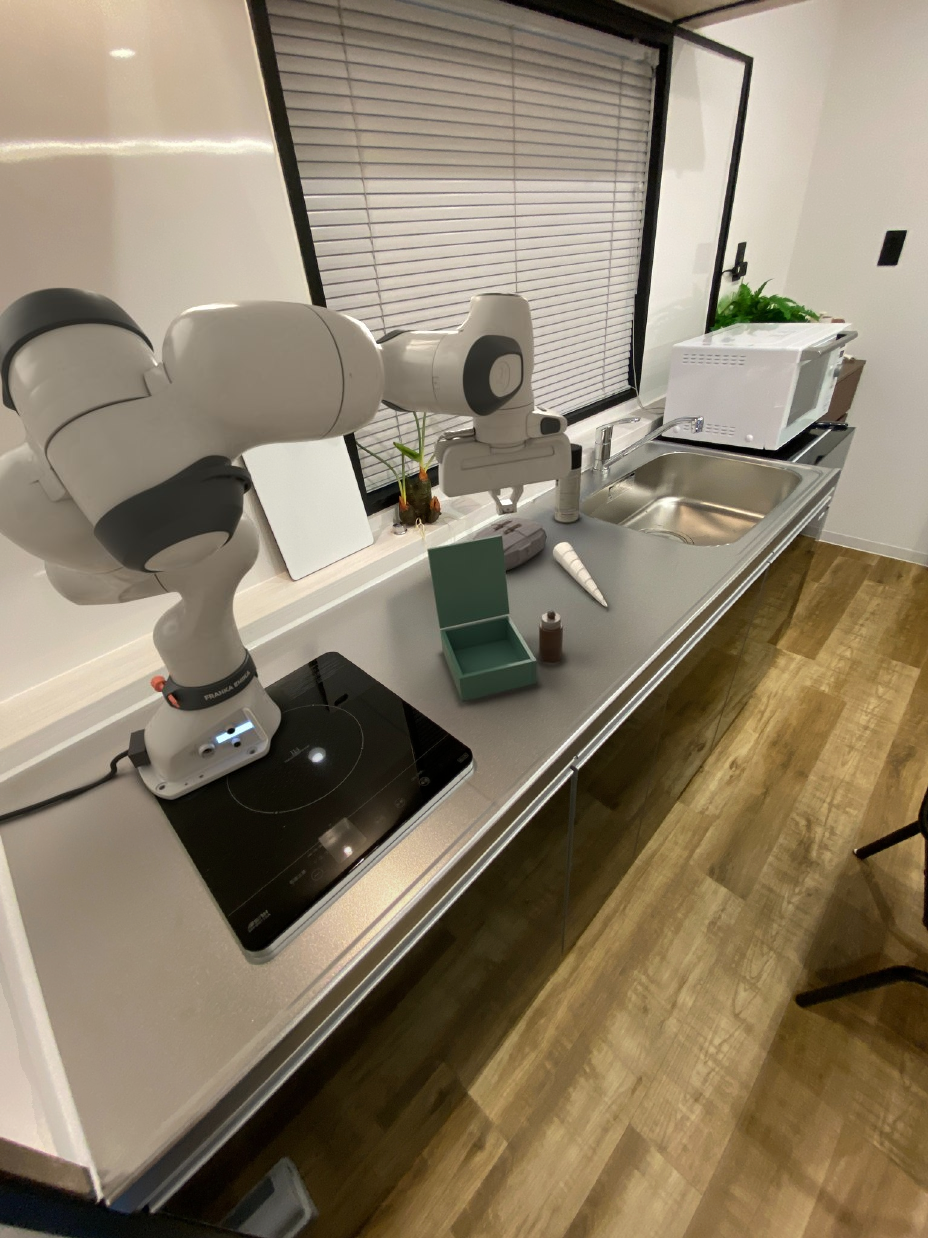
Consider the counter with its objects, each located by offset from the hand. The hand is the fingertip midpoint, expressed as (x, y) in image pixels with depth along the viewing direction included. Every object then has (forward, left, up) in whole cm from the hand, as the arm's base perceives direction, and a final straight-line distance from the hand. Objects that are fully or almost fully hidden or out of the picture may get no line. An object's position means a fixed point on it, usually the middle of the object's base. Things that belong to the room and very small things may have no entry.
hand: (506, 512), depth 84 cm
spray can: (+56, +28, -29) cm, 69 cm away
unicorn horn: (+31, +6, -29) cm, 43 cm away
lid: (-2, +8, -15) cm, 17 cm away
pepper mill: (+4, -6, -29) cm, 30 cm away
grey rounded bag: (+31, +27, -29) cm, 50 cm away
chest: (-6, +1, -29) cm, 30 cm away
